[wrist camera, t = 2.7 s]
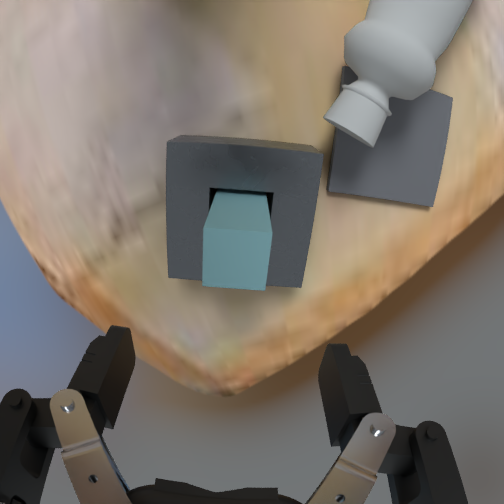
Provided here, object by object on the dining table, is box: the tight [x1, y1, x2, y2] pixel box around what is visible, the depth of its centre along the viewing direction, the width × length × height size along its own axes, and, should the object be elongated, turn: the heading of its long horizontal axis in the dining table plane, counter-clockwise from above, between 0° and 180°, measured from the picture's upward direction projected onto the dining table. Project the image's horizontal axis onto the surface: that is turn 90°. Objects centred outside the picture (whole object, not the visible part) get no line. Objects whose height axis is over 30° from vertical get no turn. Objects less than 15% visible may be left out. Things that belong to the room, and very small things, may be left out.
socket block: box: [166, 135, 324, 288], centre depth 28 cm, size 12×12×5 cm
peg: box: [202, 188, 272, 291], centre depth 25 cm, size 4×4×12 cm
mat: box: [327, 66, 453, 207], centre depth 27 cm, size 12×12×1 cm
